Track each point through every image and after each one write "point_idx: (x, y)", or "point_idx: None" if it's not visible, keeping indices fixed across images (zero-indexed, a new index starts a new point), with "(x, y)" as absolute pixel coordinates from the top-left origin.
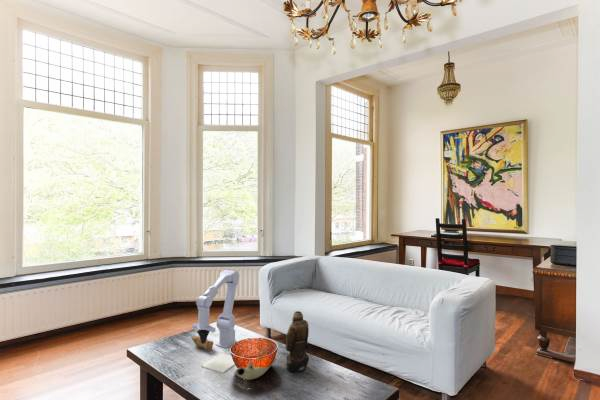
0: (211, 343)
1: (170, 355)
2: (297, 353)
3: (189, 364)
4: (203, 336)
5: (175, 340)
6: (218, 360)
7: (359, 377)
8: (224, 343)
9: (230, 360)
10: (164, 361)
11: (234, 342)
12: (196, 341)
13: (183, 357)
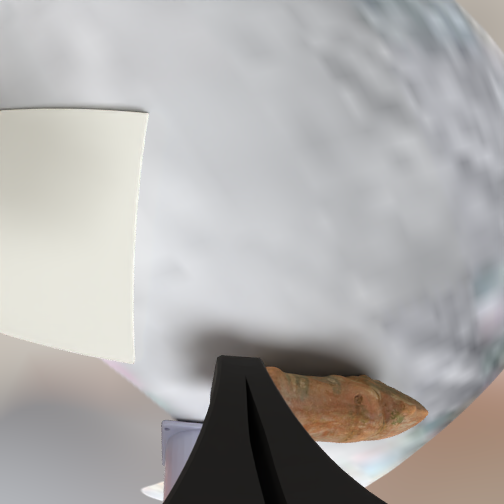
0: None
1: (489, 223)
2: None
3: (299, 117)
4: (189, 476)
5: (484, 366)
6: (69, 263)
7: None
8: (187, 445)
9: (5, 291)
10: (495, 133)
11: (163, 459)
12: (384, 400)
13: (409, 223)
